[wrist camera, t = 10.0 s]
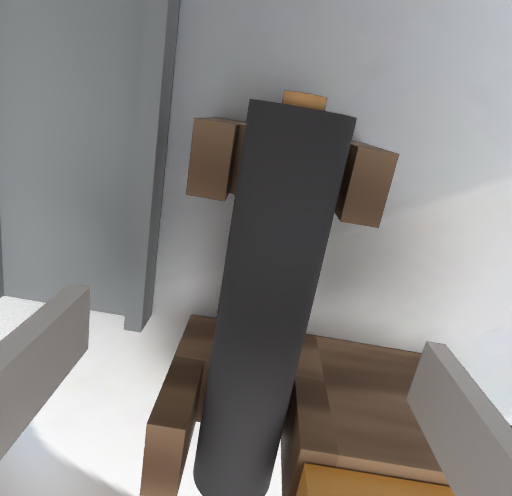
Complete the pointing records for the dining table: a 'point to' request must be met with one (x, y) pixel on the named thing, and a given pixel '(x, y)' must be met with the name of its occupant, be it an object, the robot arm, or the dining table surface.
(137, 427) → the dining table surface
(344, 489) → the notched orange block
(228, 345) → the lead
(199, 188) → the rest
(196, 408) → the notched wooden block
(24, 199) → the grey open channel
